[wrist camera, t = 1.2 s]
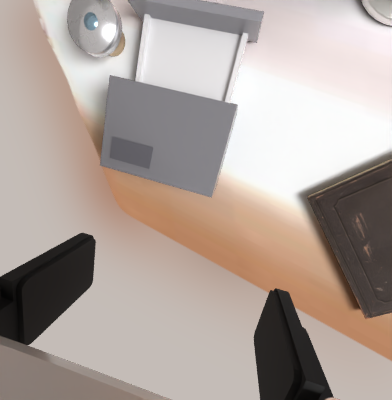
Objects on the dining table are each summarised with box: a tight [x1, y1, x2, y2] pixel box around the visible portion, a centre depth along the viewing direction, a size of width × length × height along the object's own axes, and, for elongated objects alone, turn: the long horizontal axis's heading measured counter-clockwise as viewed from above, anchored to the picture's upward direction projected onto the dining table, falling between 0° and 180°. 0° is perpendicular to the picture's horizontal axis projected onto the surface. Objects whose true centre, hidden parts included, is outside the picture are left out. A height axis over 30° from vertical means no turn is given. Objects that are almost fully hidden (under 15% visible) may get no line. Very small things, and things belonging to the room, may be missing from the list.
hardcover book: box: [308, 159, 392, 319], centre depth 30 cm, size 16×23×2 cm
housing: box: [100, 75, 237, 197], centre depth 30 cm, size 12×17×7 cm
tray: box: [128, 0, 264, 103], centre depth 27 cm, size 12×17×5 cm
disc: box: [67, 0, 122, 57], centre depth 27 cm, size 7×7×2 cm
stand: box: [110, 32, 125, 56], centre depth 29 cm, size 4×4×4 cm
